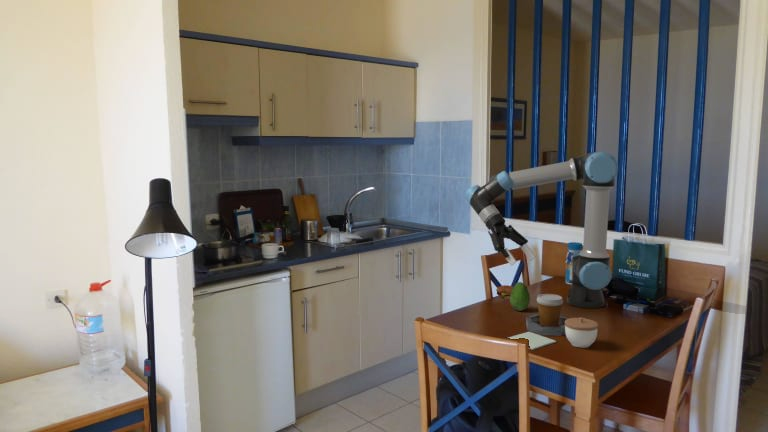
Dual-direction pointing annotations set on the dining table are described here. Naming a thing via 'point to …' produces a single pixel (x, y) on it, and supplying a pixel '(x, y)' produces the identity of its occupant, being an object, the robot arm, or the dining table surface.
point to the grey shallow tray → (545, 330)
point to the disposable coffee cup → (549, 309)
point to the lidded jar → (581, 331)
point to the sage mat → (534, 340)
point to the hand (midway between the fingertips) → (523, 261)
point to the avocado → (520, 297)
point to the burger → (504, 291)
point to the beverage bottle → (571, 260)
